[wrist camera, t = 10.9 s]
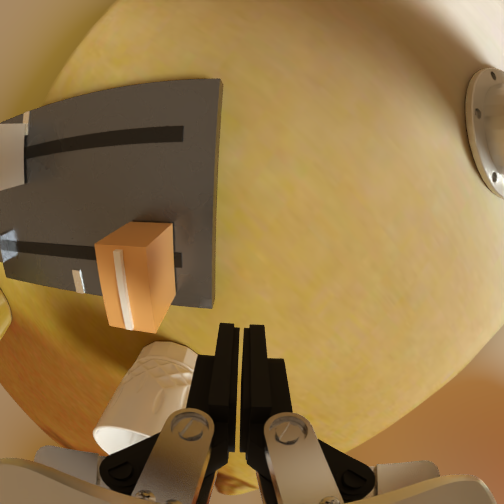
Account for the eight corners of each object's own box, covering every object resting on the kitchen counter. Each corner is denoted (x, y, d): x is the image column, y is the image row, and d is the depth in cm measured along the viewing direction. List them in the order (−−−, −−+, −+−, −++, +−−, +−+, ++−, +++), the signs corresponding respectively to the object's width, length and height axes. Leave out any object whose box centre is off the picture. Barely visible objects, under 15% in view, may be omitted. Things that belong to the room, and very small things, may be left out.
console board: (223, 84, 15) (217, 73, 12) (214, 298, 20) (209, 318, 18) (2, 126, 15) (-17, 127, 12) (15, 271, 20) (-1, 282, 17)
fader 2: (172, 223, 16) (143, 249, 12) (175, 294, 18) (154, 336, 14) (129, 221, 16) (91, 245, 12) (136, 290, 18) (107, 328, 14)
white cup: (121, 360, 23) (80, 437, 14) (163, 318, 21) (117, 414, 12) (182, 403, 25) (163, 482, 15) (233, 371, 23) (224, 469, 13)
